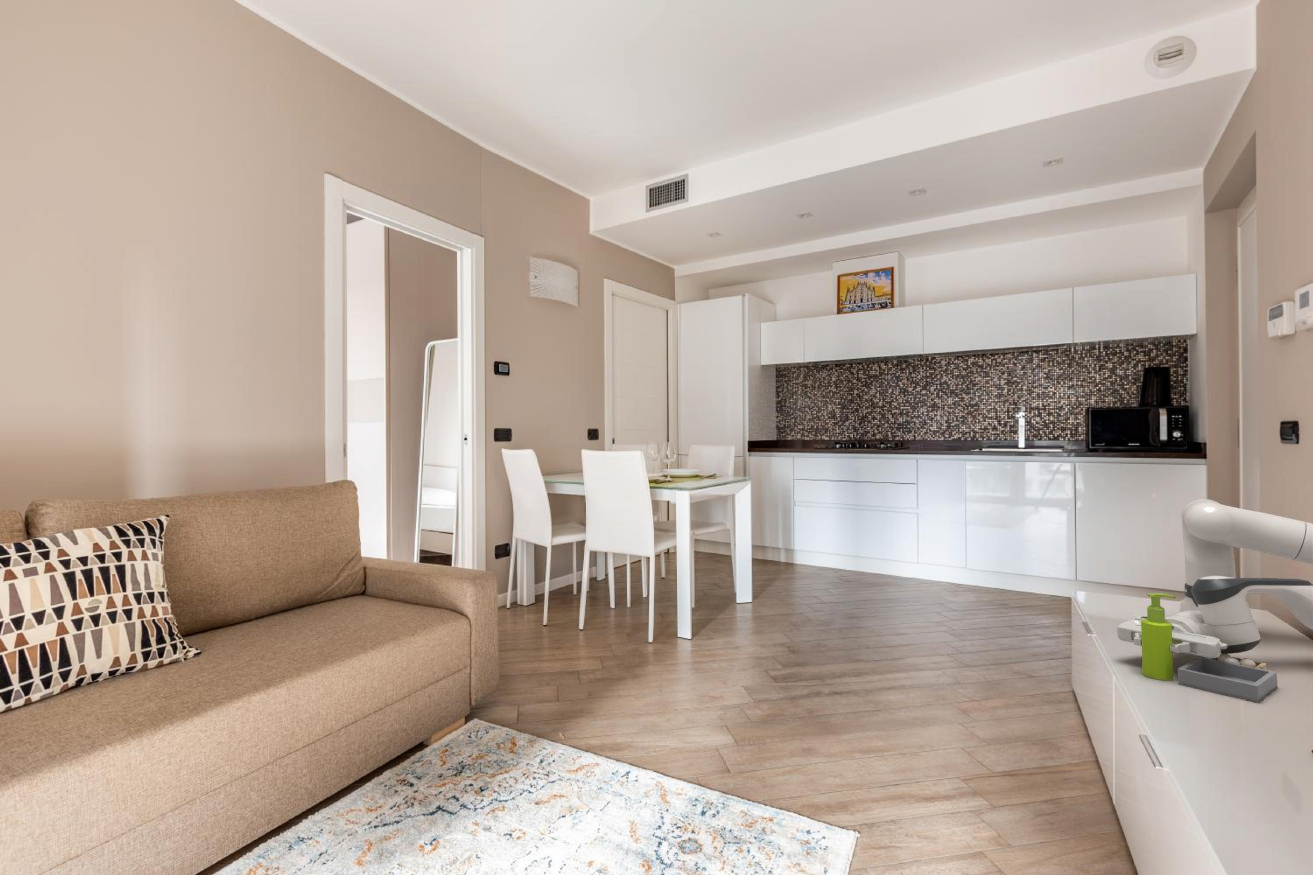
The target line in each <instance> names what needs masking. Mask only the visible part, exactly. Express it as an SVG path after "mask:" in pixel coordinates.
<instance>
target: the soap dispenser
mask: <svg viewBox="0 0 1313 875" xmlns="http://www.w3.org/2000/svg"><path fill="white" fill-rule="evenodd" d="M1146 596H1147V597H1150V604H1151V605H1147V607H1146V615H1147V616H1146V617H1147V619H1142V620H1141V636H1142V646H1141V662H1142V665H1141V666H1142V667H1141V668H1142V675H1144V677H1145V676H1146V677H1147V678H1150V679H1153V680H1159V681H1171V680H1173V679H1174V664H1173V663H1174V658H1173V656H1174V655H1173V654H1174V653H1173V652H1170V649H1171V648H1170V645H1171V644H1172V624H1171V623H1170V622H1167V621H1165V617H1166V611H1165V610H1166V609H1165V608H1164V607H1163V606H1161V598H1168V599H1169V598H1171V599H1176V598H1177V596H1174V595H1172V594H1168V593H1163V592H1149V593H1148V592H1147V593H1146Z"/></svg>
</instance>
